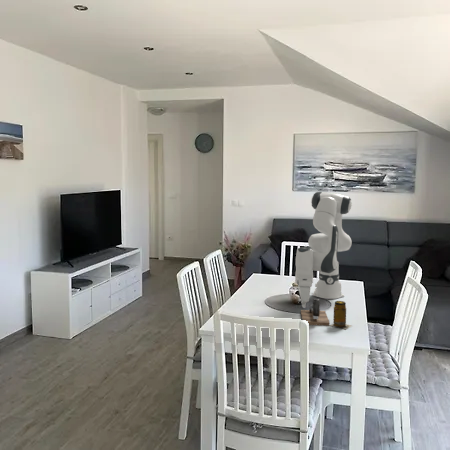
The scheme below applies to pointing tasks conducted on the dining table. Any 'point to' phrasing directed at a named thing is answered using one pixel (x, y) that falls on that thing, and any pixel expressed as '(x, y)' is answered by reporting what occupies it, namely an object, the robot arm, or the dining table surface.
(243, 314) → the dining table surface
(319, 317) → the board
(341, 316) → the condiment
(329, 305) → the dining table surface
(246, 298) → the dining table surface
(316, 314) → the lever
